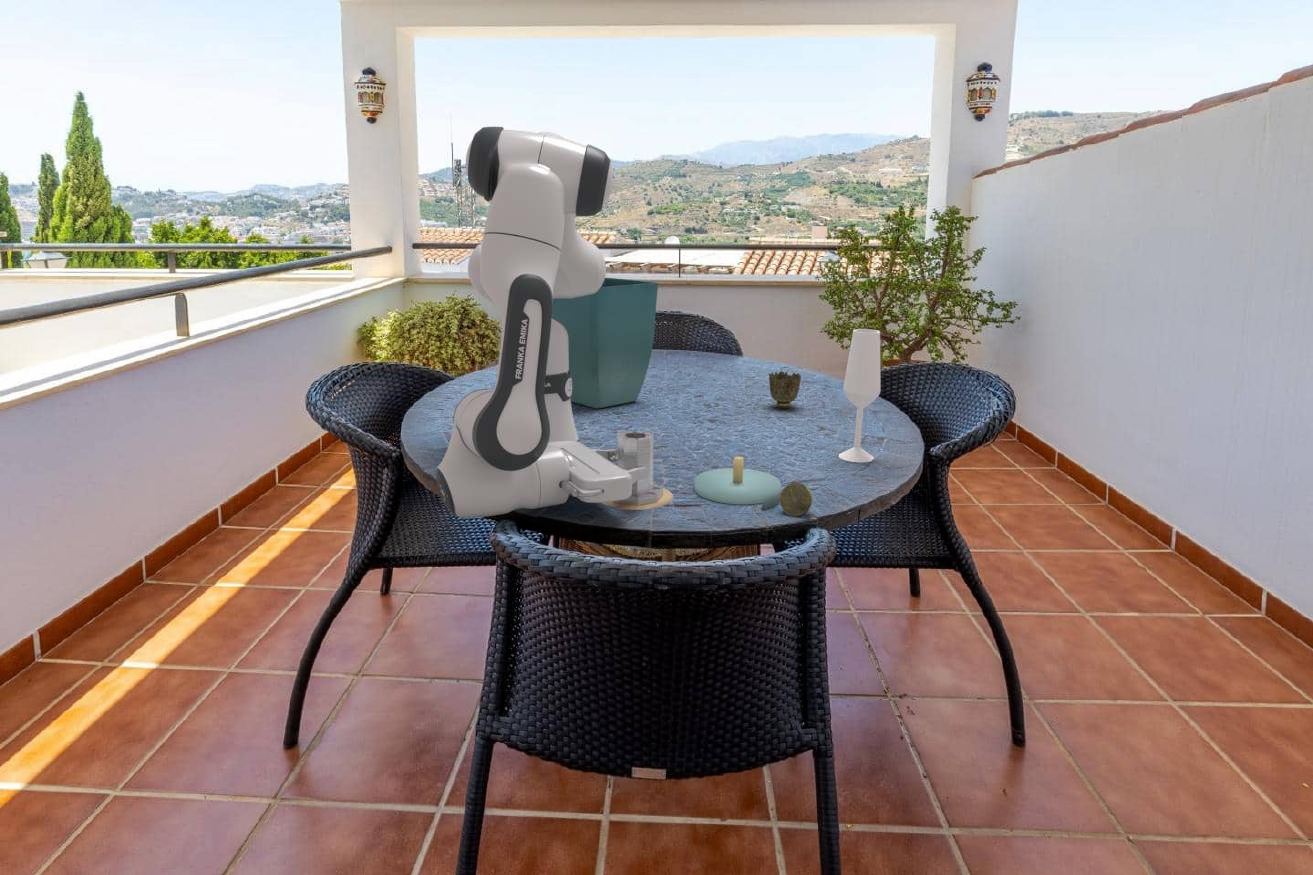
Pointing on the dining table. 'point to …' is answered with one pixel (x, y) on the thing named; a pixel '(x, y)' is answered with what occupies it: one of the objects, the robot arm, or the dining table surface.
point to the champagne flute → (862, 383)
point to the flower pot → (609, 340)
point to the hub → (739, 486)
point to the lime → (796, 499)
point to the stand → (663, 500)
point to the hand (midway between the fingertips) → (631, 463)
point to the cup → (784, 388)
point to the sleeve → (638, 452)
